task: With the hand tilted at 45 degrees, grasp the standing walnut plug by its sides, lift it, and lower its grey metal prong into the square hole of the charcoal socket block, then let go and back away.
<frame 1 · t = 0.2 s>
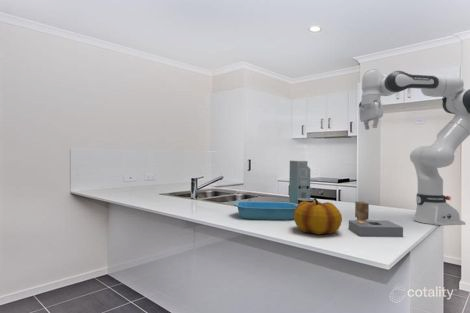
hand: (370, 128, 159), 48 cm above the table, tool pointing down, fingers open, 8 cm apart
coffee mug: (306, 218, 166), on the table
decorative pumpkin: (316, 231, 137), on the table
socket block: (374, 232, 136), on the table
device: (299, 211, 186), on the table
walnut plug: (361, 225, 150), on the table
casserole dish: (267, 217, 168), on the table
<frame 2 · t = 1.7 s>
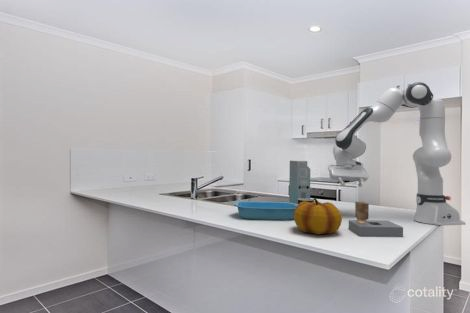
hand: (352, 185, 161), 18 cm above the table, tool tilted 45°, fingers open, 8 cm apart
nothing on the table moved.
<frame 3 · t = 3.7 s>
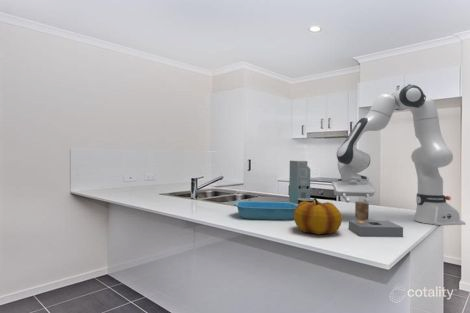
hand: (357, 202, 155), 10 cm above the table, tool tilted 45°, fingers open, 8 cm apart
nothing on the table moved.
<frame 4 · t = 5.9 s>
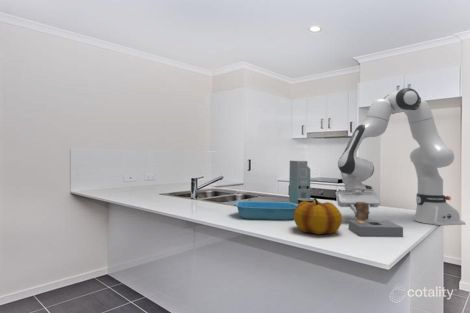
hand: (362, 213, 149), 6 cm above the table, tool tilted 45°, fingers closed on walnut plug, 4 cm apart
walnut plug: (361, 225, 150), on the table, touching gripper
everything else where it was.
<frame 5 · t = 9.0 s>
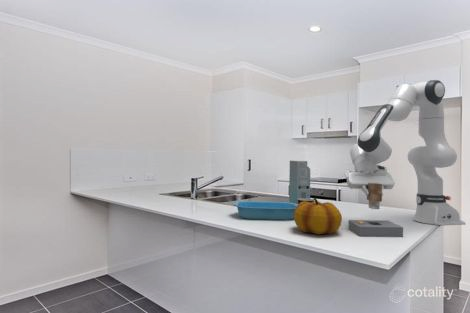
hand: (374, 195, 135), 16 cm above the table, tool tilted 45°, fingers closed on walnut plug, 4 cm apart
walnut plug: (373, 208, 136), point 11 cm above the table, touching gripper
everything else where it was.
when the fingers open (8 cm above the table, at t = 12.0 s): walnut plug drops 2 cm, resting on socket block.
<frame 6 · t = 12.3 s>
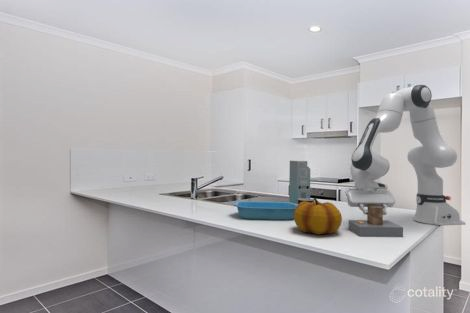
hand: (375, 213, 135), 8 cm above the table, tool tilted 45°, fingers open, 7 cm apart
walnut plug: (374, 231, 136), resting on socket block
everything else where it was.
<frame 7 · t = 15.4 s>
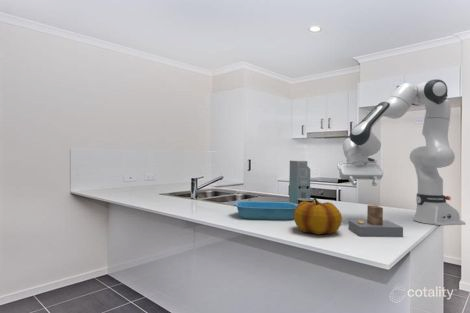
hand: (365, 184, 146), 20 cm above the table, tool tilted 45°, fingers open, 8 cm apart
nothing on the table moved.
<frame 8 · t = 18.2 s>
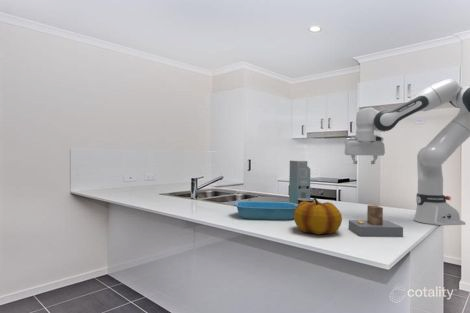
hand: (364, 164, 164), 29 cm above the table, tool pointing down, fingers open, 8 cm apart
nothing on the table moved.
at the end: walnut plug 0.1 cm off-centre on the socket block, point 0.5 cm above the socket block's base; walnut plug tilted 0°; the gripper is holding nothing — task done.
